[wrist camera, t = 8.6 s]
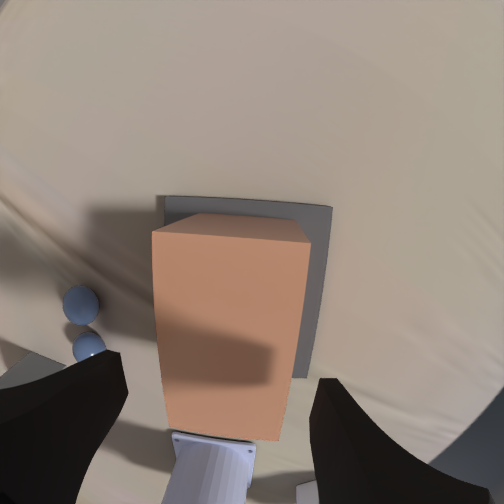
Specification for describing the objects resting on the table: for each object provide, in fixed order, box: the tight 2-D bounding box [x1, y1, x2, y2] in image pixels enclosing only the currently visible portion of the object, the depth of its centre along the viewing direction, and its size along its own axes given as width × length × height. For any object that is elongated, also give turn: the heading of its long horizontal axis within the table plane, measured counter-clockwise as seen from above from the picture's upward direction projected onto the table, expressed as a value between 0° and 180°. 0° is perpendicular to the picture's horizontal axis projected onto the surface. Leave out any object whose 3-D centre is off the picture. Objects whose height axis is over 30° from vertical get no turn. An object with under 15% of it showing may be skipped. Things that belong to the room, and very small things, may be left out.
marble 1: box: [62, 286, 99, 325], centre depth 18 cm, size 3×3×3 cm
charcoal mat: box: [165, 196, 333, 378], centre depth 18 cm, size 12×10×1 cm
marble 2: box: [72, 332, 107, 362], centre depth 19 cm, size 3×3×3 cm
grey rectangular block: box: [0, 351, 67, 389], centre depth 19 cm, size 6×6×7 cm
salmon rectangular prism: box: [152, 213, 311, 441], centre depth 14 cm, size 10×6×7 cm, turn 176°
